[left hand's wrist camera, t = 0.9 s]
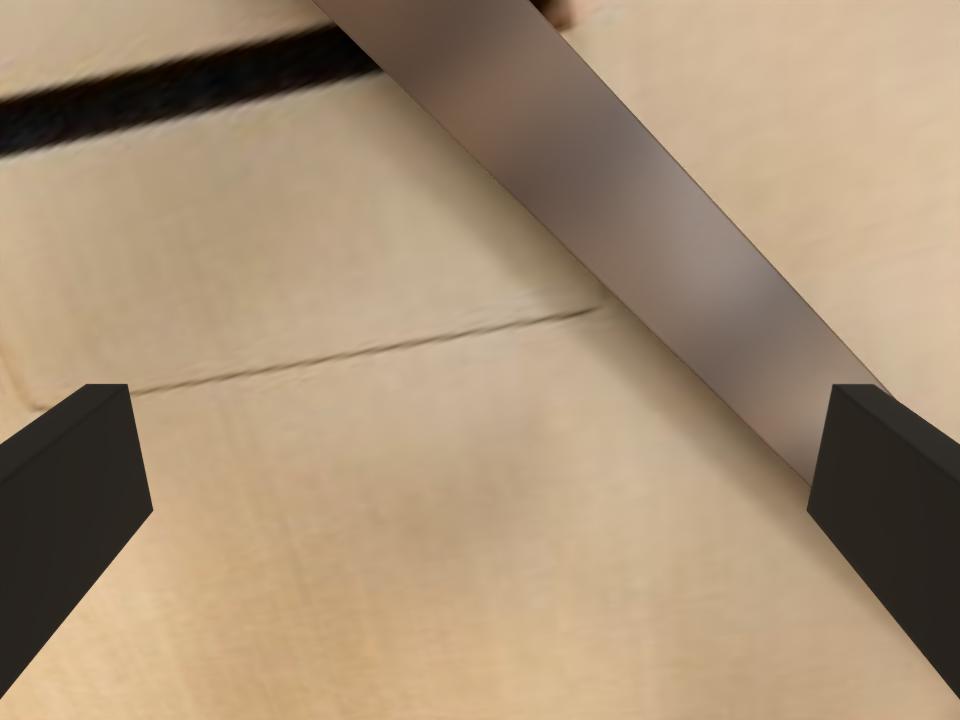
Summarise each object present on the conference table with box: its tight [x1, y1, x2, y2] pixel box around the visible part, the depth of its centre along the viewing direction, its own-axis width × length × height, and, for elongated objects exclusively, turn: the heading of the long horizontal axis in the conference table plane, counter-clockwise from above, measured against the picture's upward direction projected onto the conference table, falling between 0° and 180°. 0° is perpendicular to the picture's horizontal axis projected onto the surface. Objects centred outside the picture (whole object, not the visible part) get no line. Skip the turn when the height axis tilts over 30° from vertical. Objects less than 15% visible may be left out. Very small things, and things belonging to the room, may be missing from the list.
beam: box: [313, 0, 895, 487], centre depth 31 cm, size 79×5×7 cm, turn 47°
